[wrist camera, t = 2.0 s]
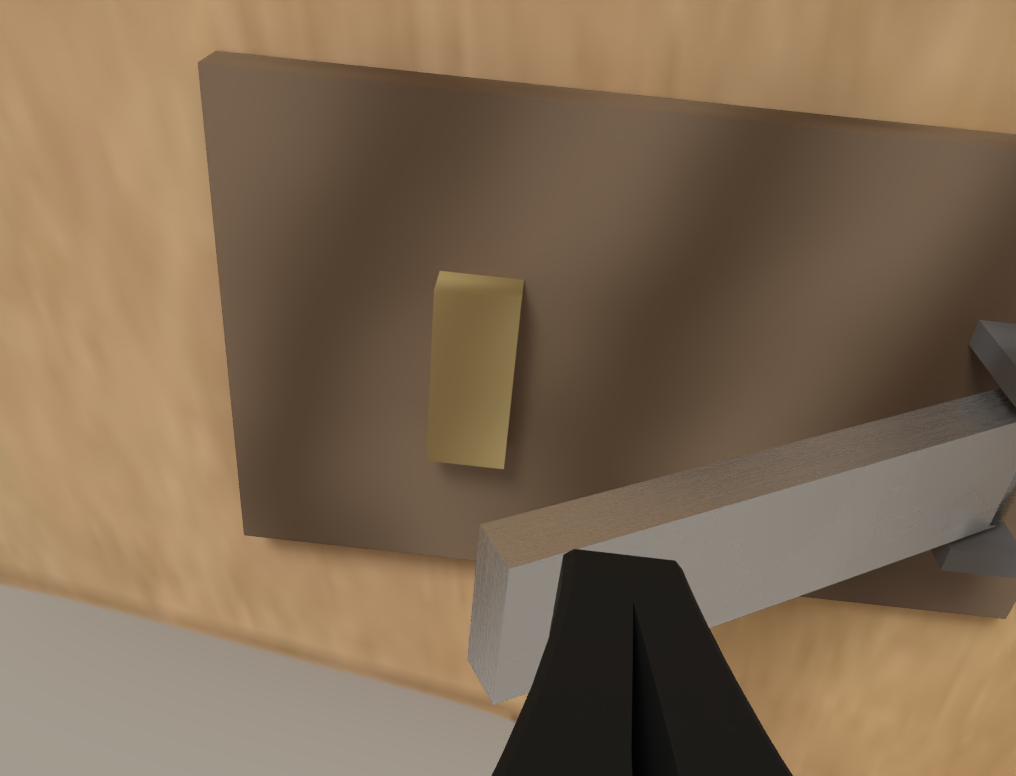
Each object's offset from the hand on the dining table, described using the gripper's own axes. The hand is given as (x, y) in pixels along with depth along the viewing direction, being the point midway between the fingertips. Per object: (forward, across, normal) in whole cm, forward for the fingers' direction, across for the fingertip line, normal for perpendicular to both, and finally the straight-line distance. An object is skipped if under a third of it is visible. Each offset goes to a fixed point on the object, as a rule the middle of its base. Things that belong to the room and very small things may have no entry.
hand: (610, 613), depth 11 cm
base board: (+10, -2, +2) cm, 11 cm away
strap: (+6, -4, +2) cm, 7 cm away
